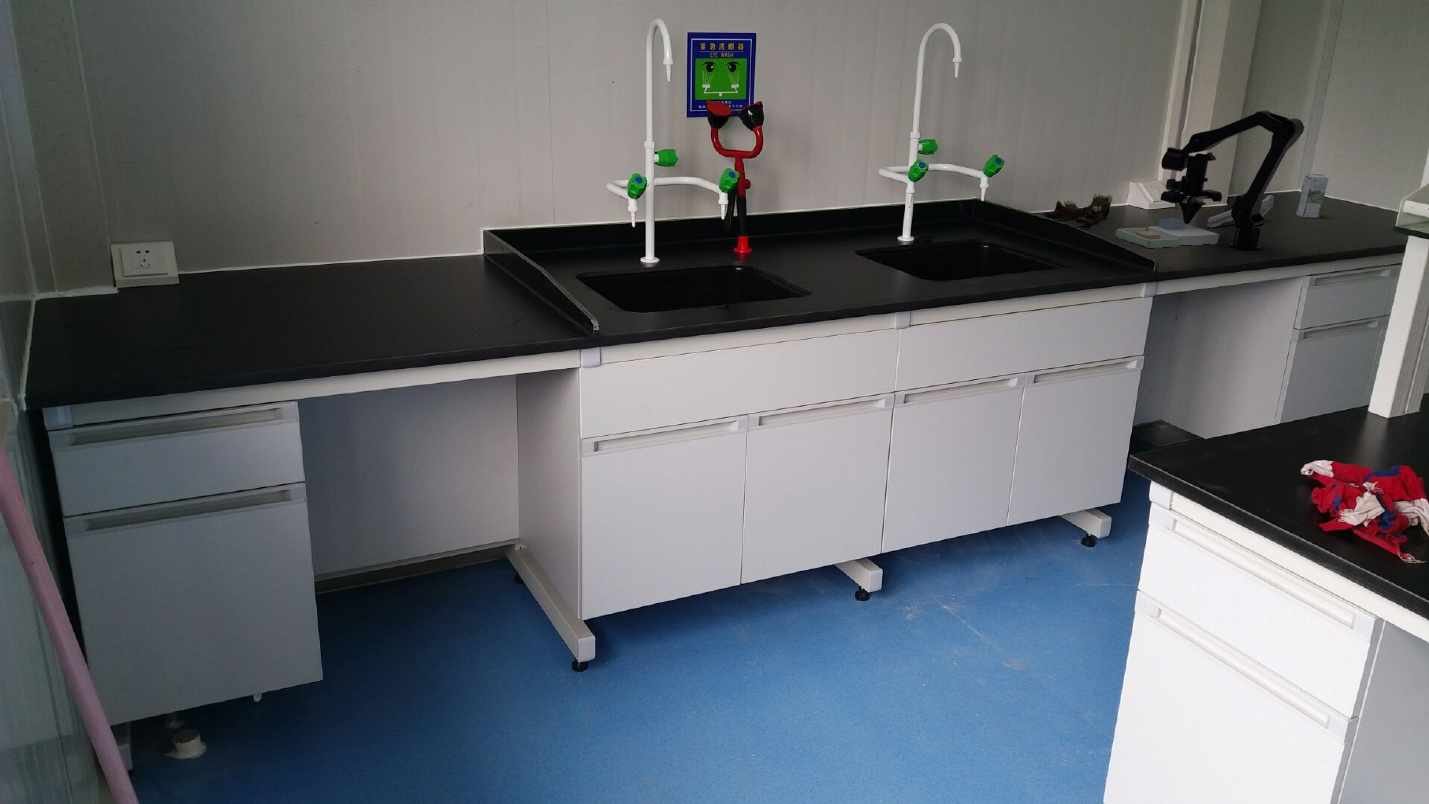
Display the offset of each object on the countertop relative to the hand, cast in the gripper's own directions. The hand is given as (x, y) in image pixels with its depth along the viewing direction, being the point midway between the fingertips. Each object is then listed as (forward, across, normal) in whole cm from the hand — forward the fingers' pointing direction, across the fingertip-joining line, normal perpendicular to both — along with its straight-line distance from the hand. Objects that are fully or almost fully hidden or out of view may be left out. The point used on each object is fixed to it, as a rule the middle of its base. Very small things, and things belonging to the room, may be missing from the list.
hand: (1186, 223), depth 340 cm
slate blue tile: (+1, +6, 0) cm, 6 cm away
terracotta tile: (+1, +18, +6) cm, 19 cm away
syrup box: (+4, -66, -18) cm, 69 cm away
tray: (+4, +17, +4) cm, 18 cm away
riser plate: (+4, +4, +4) cm, 7 cm away
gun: (+4, -32, -12) cm, 34 cm away
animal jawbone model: (+5, +19, -24) cm, 31 cm away
